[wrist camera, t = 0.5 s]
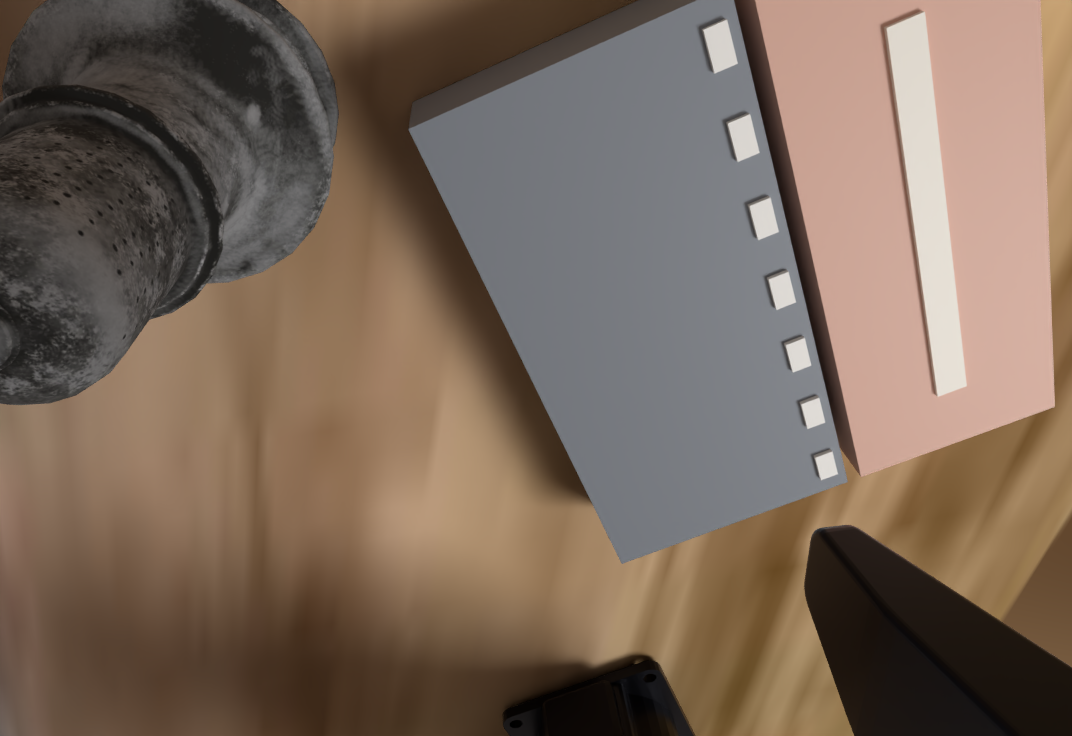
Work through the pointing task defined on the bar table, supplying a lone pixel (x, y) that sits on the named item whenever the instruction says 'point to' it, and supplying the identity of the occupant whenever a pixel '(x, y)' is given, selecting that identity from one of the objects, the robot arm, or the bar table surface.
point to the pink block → (913, 209)
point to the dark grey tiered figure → (147, 171)
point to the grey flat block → (643, 266)
